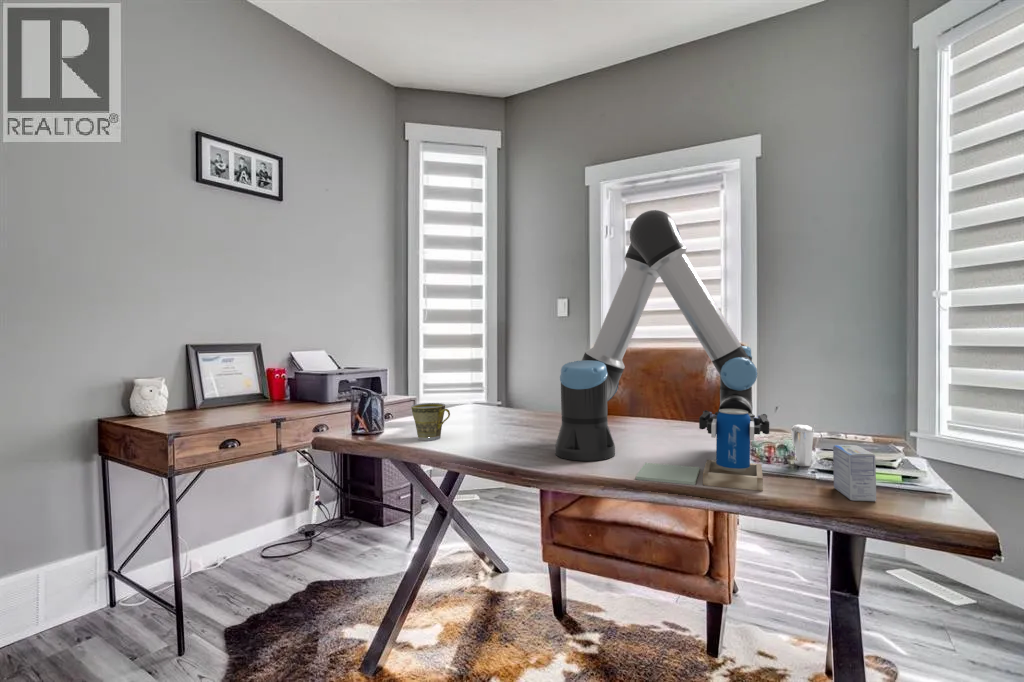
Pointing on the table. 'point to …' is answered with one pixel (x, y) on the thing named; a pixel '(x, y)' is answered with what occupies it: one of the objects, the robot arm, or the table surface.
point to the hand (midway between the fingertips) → (732, 432)
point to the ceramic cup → (429, 420)
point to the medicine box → (854, 472)
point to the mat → (669, 473)
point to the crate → (733, 477)
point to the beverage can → (733, 440)
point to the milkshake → (803, 443)
